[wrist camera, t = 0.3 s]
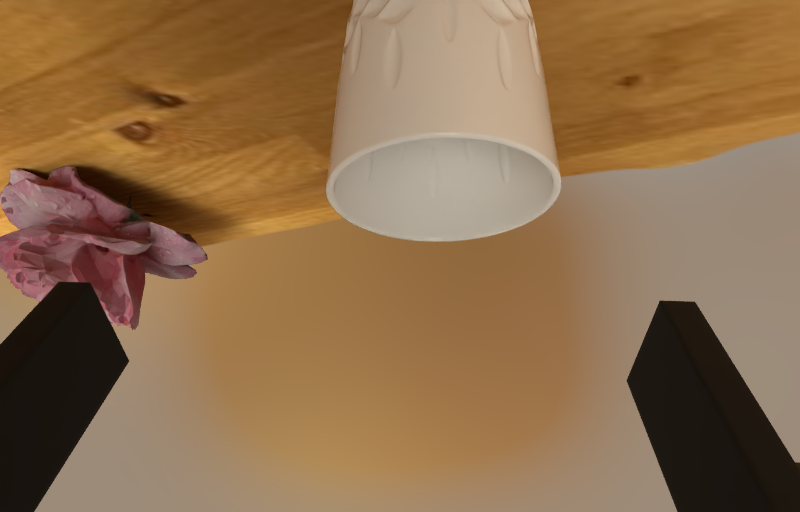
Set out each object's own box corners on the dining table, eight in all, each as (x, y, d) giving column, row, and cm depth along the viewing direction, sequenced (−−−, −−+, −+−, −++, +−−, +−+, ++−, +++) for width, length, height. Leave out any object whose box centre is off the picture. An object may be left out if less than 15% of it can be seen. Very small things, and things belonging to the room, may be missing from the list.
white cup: (351, 50, 24) (340, 241, 21) (329, -120, 17) (306, 133, 13) (513, 51, 24) (528, 243, 21) (562, -118, 17) (599, 136, 13)
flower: (232, 218, 36) (165, 348, 33) (206, 253, 49) (156, 349, 45) (5, 105, 31) (-103, 245, 27) (43, 177, 44) (-27, 279, 40)
